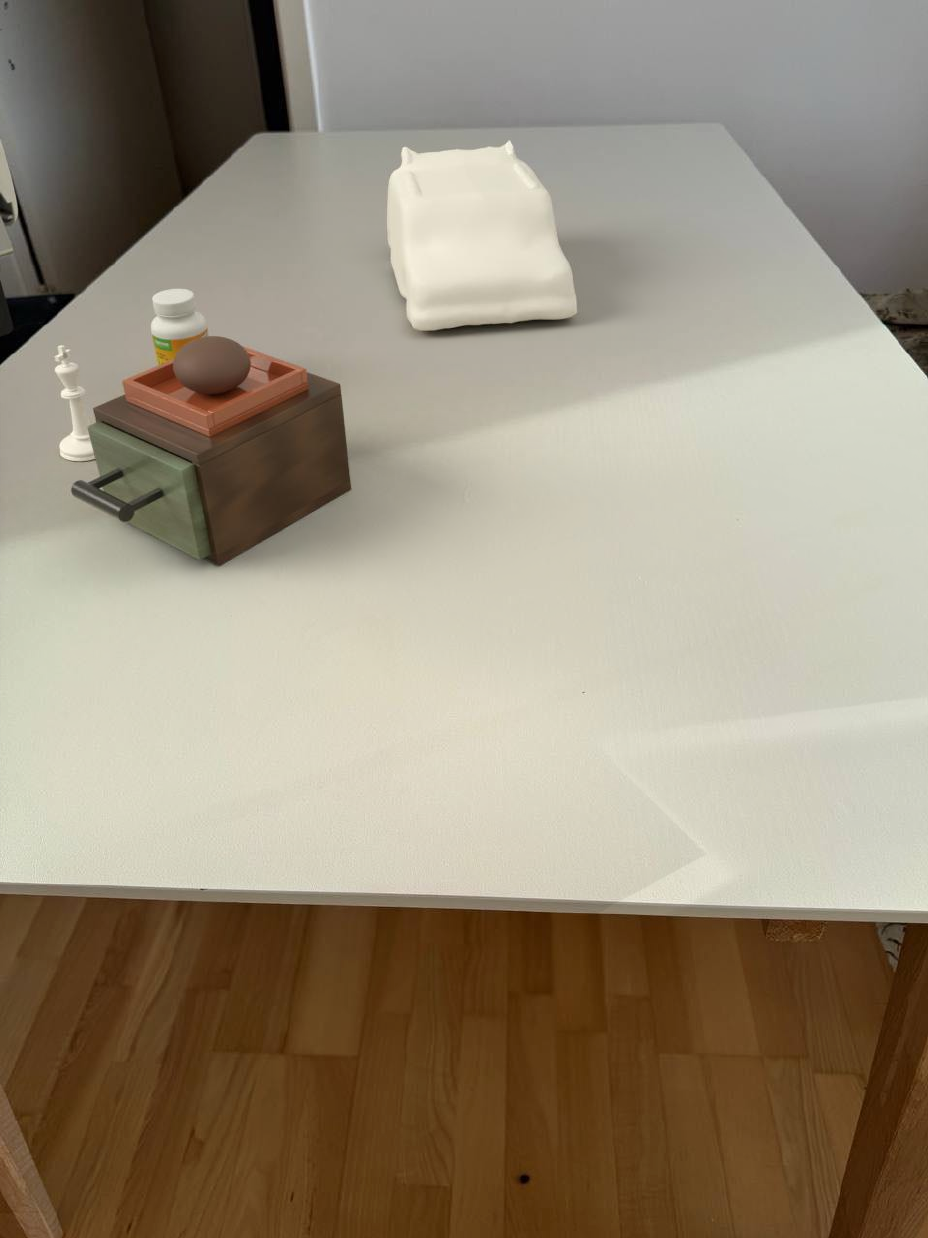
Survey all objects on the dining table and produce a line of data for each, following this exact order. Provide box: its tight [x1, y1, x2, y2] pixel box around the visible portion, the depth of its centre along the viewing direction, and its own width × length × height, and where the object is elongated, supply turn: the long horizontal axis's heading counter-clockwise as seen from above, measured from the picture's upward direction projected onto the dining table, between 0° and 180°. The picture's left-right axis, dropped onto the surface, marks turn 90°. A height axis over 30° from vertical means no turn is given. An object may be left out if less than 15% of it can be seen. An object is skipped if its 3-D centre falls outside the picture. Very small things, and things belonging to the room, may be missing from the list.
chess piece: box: [54, 344, 96, 462], centre depth 98 cm, size 5×5×10 cm
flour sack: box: [386, 140, 578, 332], centre depth 128 cm, size 19×30×13 cm, turn 9°
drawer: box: [70, 421, 212, 561], centre depth 88 cm, size 18×12×8 cm, turn 141°
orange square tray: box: [121, 345, 309, 437], centre depth 87 cm, size 10×10×2 cm
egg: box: [173, 335, 251, 394], centre depth 86 cm, size 6×6×4 cm
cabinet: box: [92, 371, 352, 567], centre depth 90 cm, size 15×13×10 cm
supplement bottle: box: [150, 288, 210, 366], centre depth 108 cm, size 5×5×10 cm
